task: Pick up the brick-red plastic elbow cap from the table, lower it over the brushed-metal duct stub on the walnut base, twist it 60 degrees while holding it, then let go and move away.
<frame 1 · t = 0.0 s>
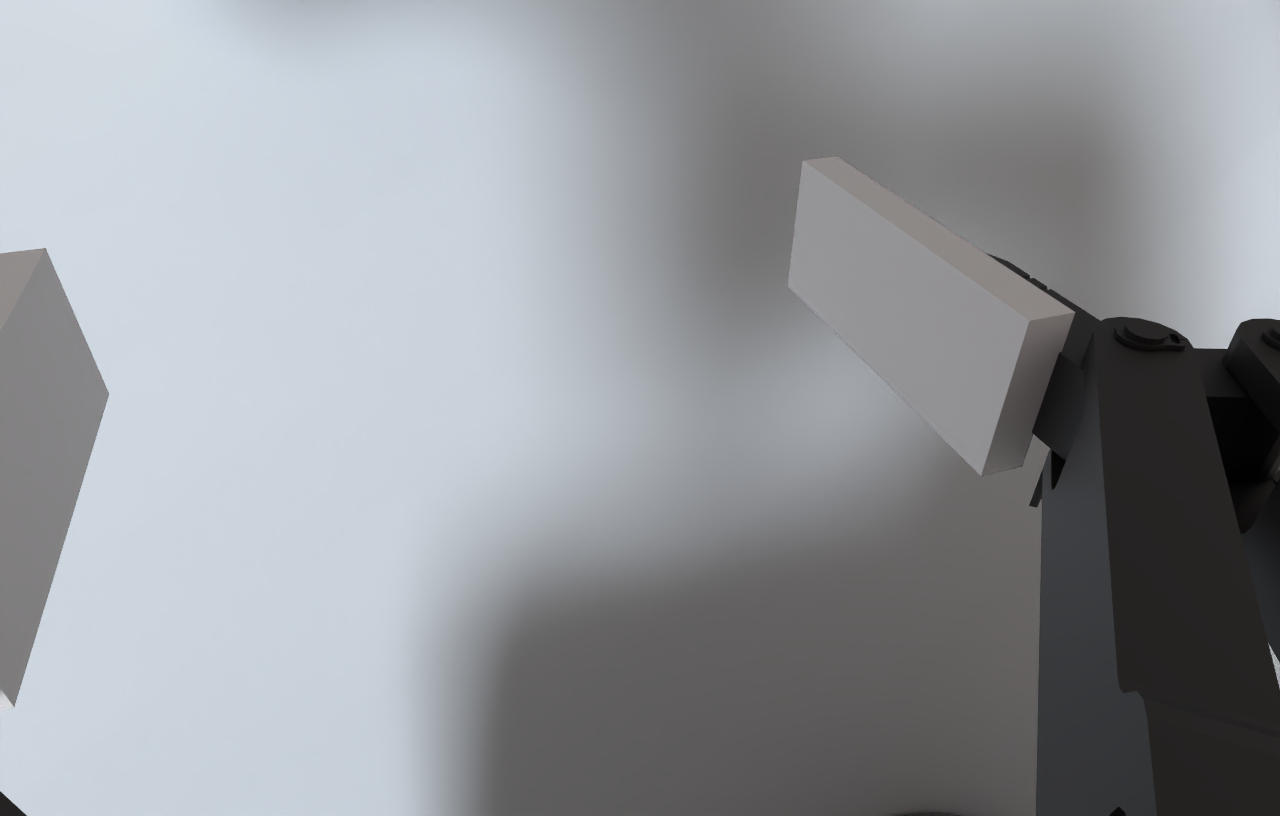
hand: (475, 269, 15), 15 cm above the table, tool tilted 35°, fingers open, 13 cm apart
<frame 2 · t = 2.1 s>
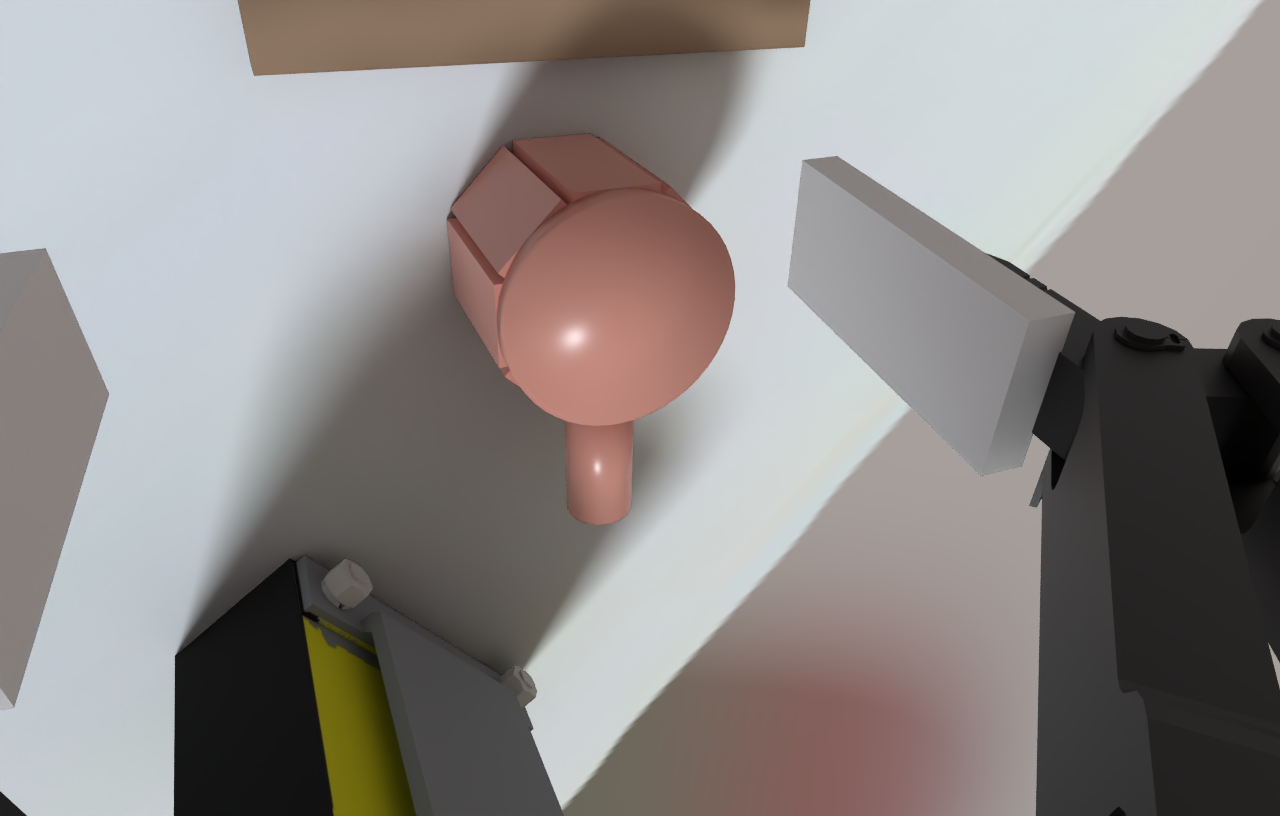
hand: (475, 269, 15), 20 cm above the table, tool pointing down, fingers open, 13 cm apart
electrical component: (372, 663, 47), on the table
elbow cap: (554, 243, 38), on the table
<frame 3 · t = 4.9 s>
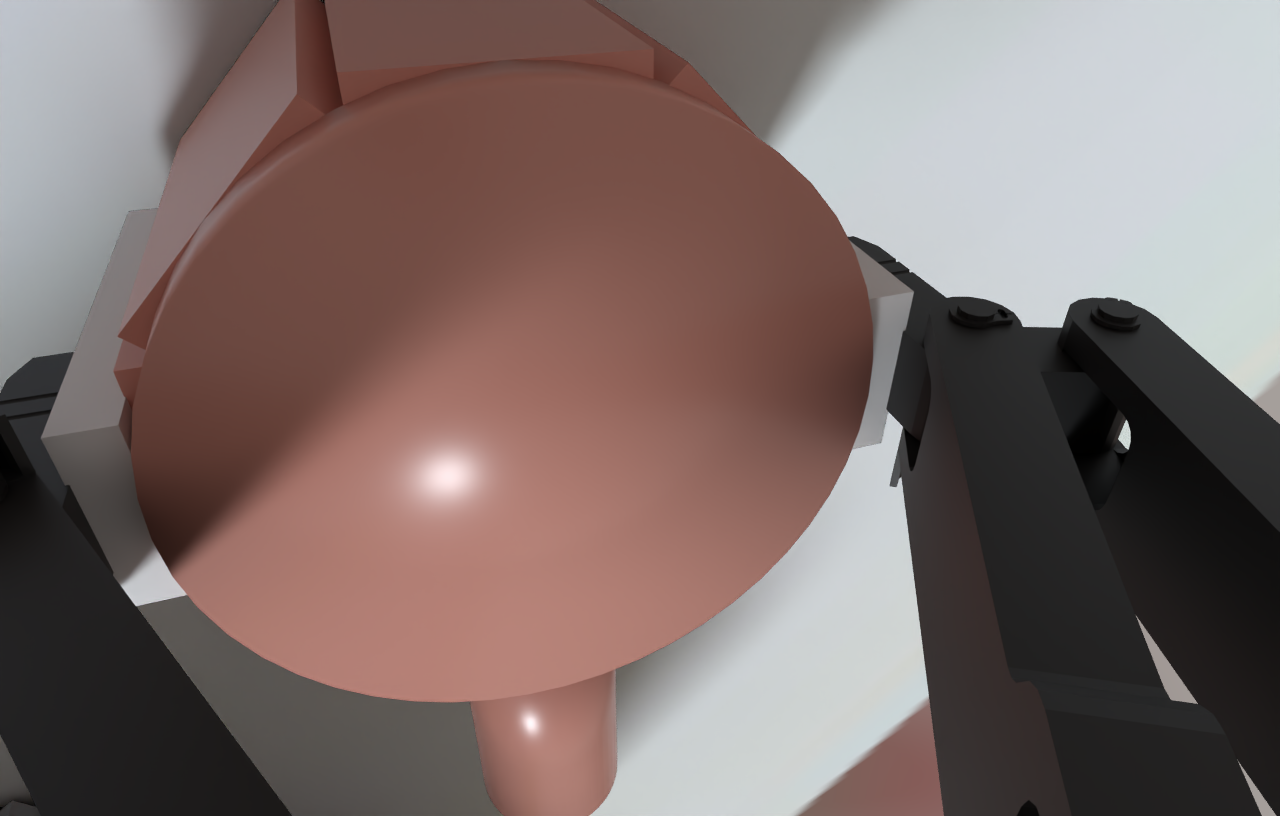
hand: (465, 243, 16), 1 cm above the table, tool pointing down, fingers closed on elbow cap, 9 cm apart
elbow cap: (456, 222, 17), on the table, touching gripper
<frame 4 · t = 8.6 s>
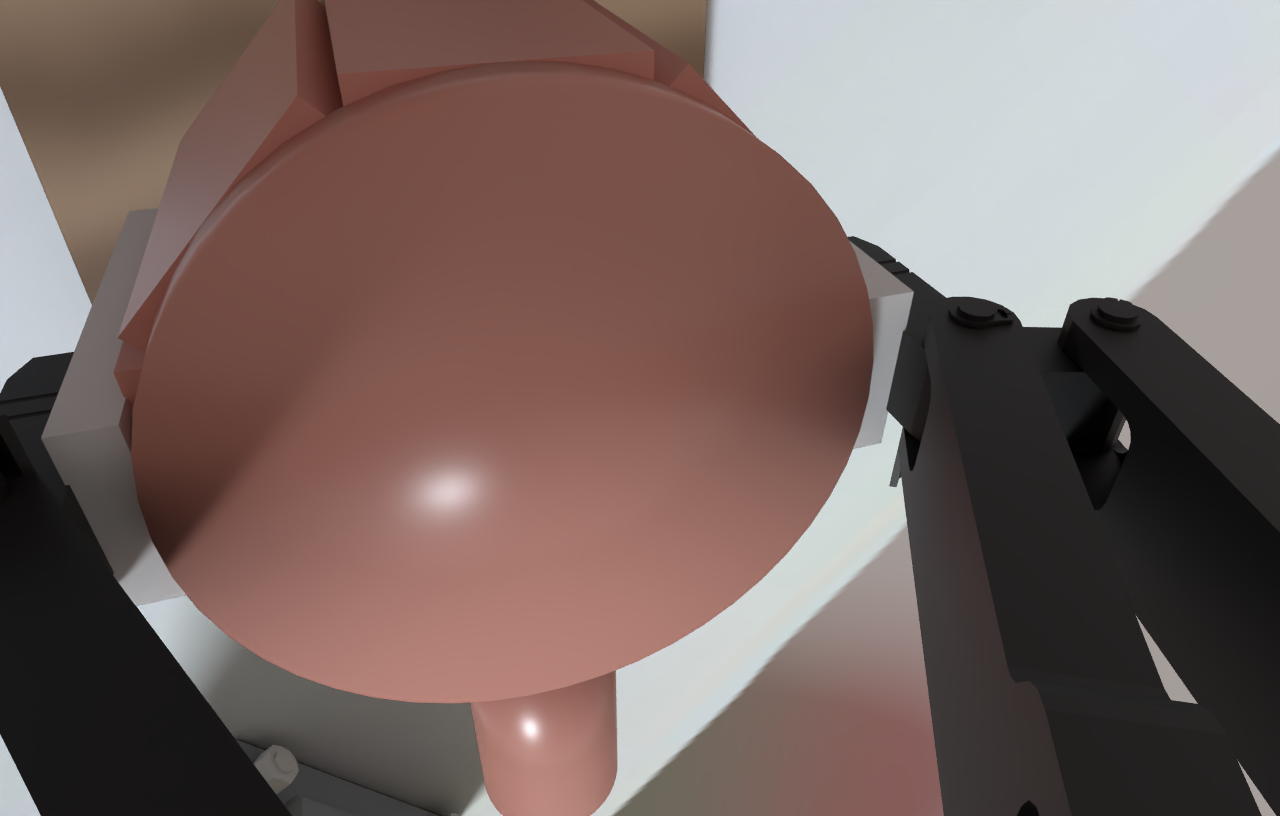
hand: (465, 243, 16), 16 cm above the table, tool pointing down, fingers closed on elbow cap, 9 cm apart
electrical component: (315, 812, 50), on the table
elbow cap: (456, 222, 17), point 15 cm above the table, touching gripper
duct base: (386, 53, 29), on the table
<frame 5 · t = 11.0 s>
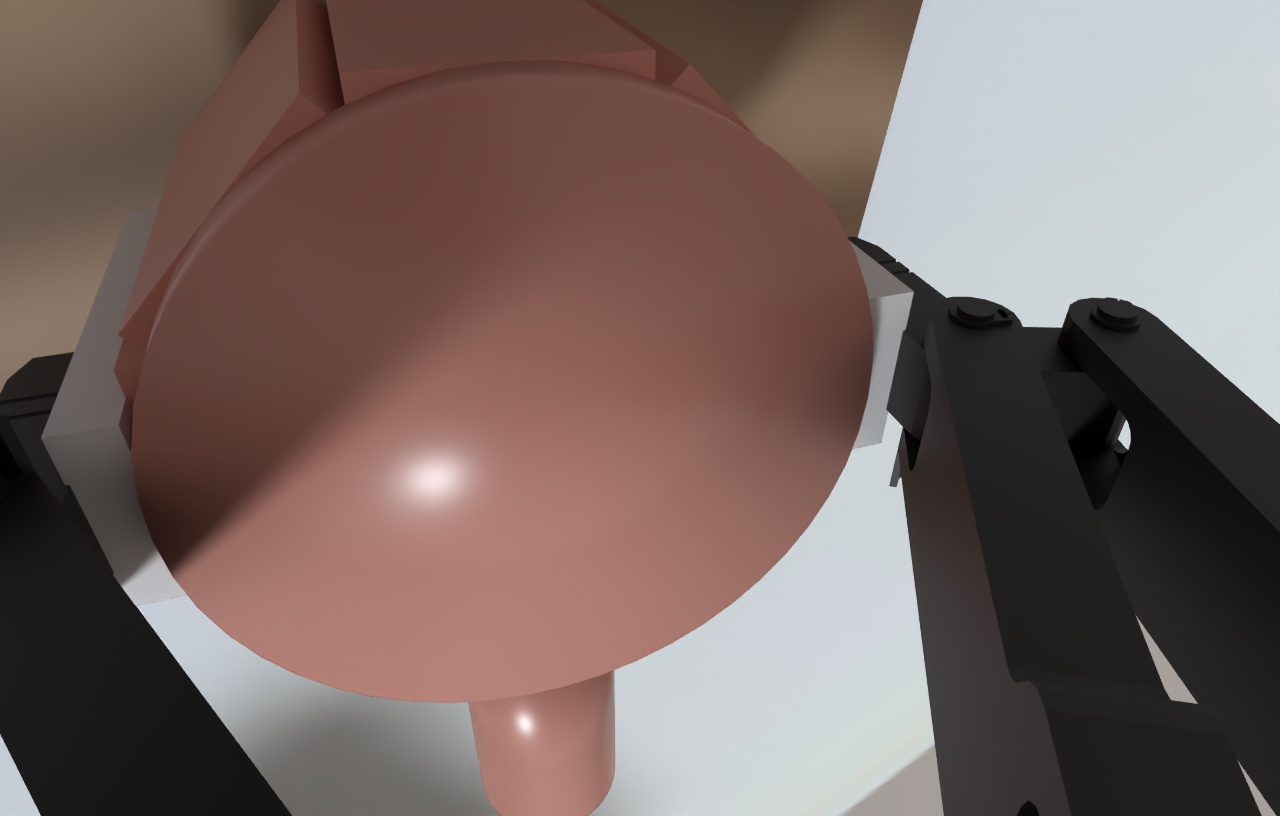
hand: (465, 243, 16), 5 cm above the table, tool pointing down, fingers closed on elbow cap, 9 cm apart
elbow cap: (456, 222, 17), point 3 cm above the table, touching gripper
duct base: (435, 164, 20), on the table
when the fingers open (5 cm above the table, at t = 12.6 s): elbow cap stays where it is, resting on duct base.
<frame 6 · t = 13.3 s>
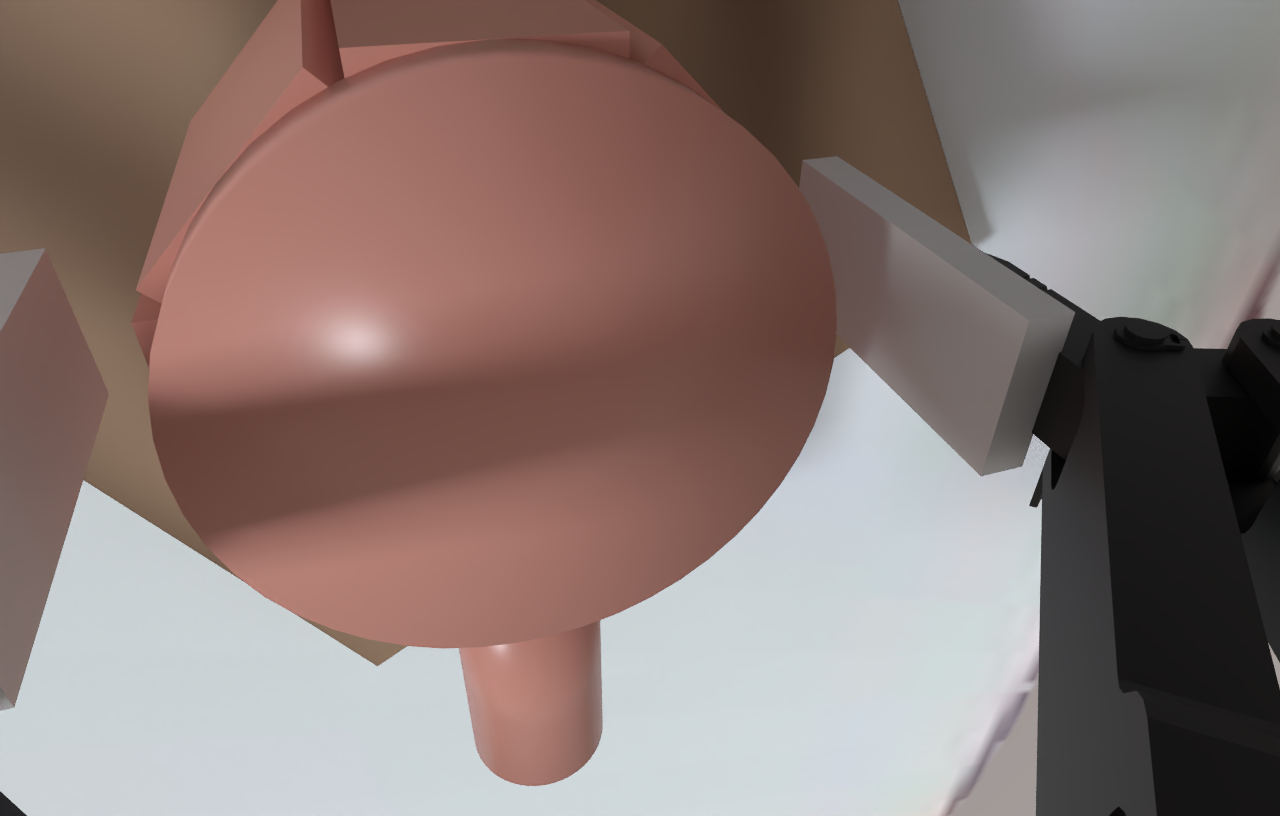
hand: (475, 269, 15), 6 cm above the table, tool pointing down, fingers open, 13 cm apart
elbow cap: (451, 203, 18), point 3 cm above the table, touching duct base
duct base: (436, 164, 20), on the table
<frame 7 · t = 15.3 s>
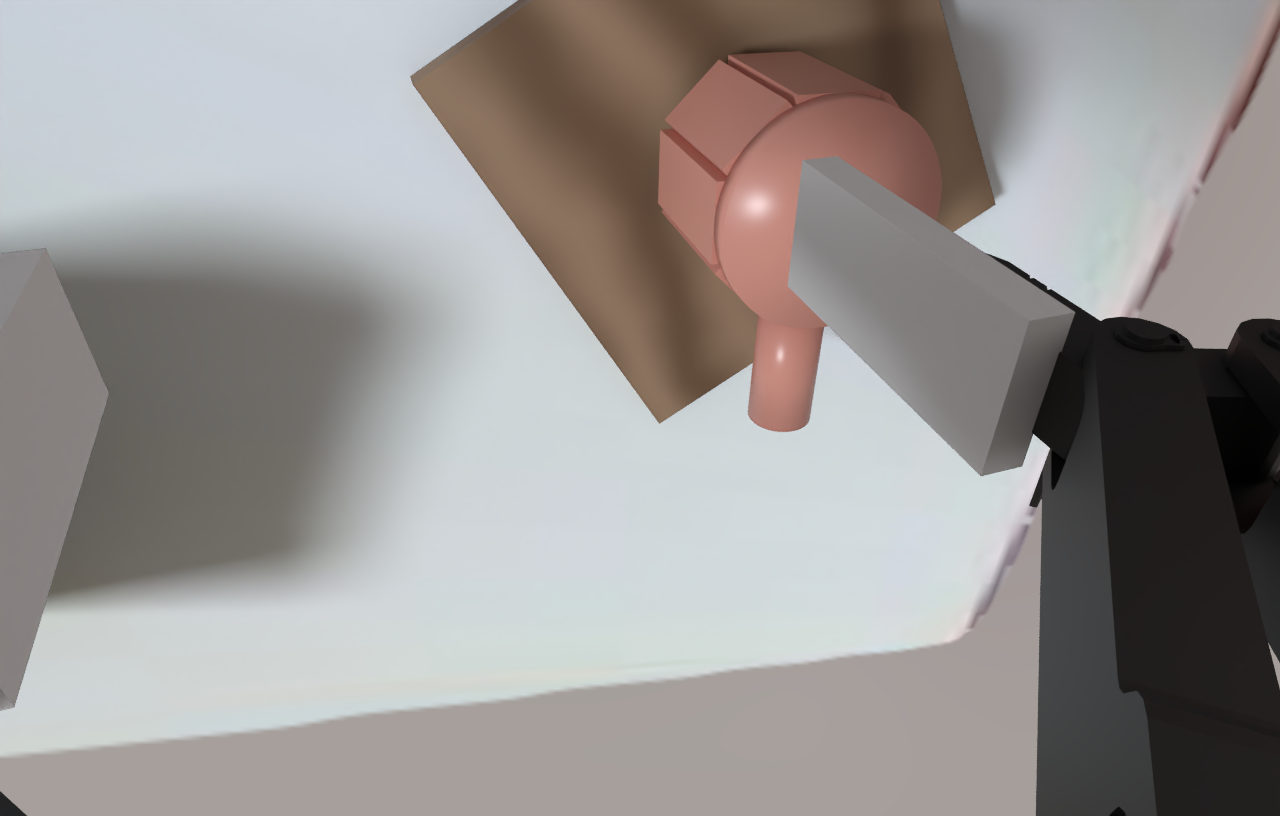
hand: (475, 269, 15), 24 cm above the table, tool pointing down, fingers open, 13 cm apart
elbow cap: (754, 159, 40), point 2 cm above the table, touching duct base
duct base: (734, 144, 42), on the table
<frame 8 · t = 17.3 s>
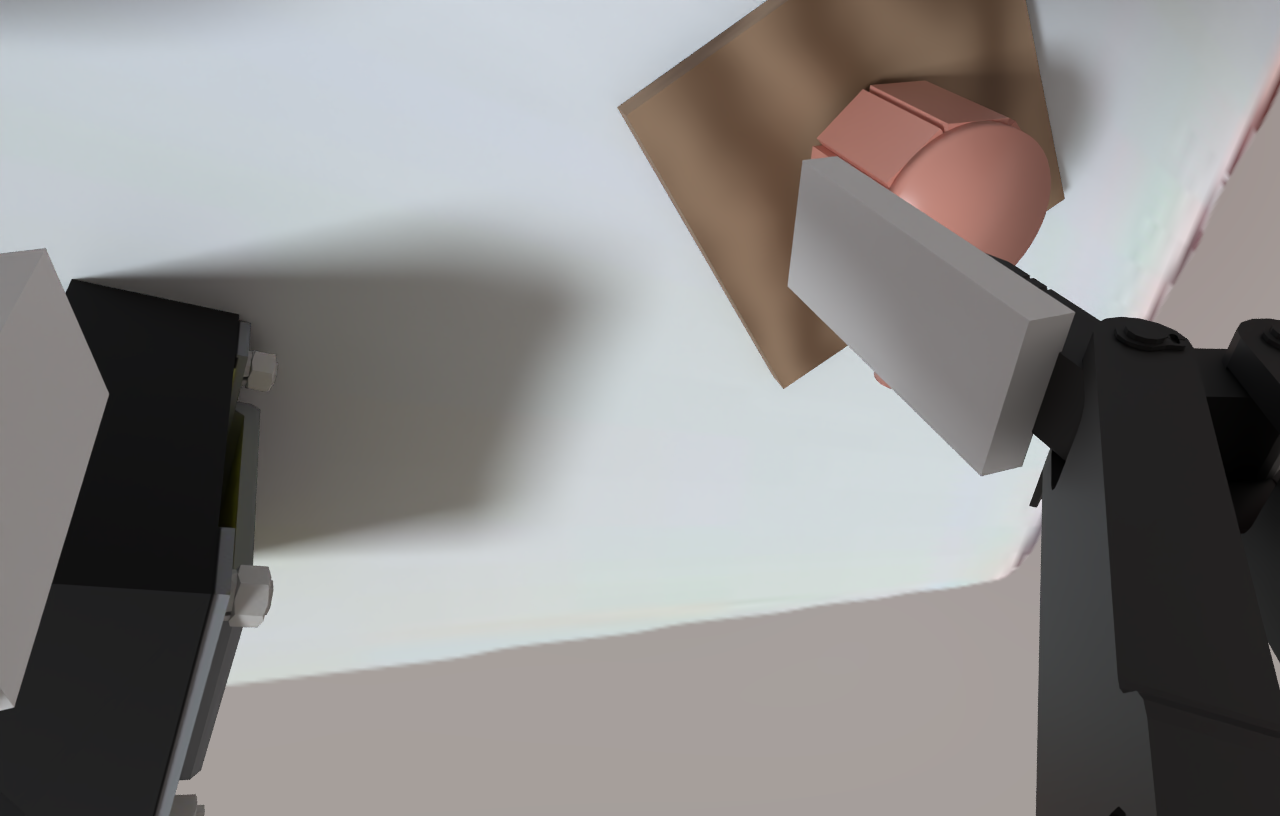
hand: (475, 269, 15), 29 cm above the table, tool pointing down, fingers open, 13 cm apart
electrical component: (148, 439, 46), on the table
elbow cap: (882, 168, 48), point 2 cm above the table, touching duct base
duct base: (859, 154, 50), on the table
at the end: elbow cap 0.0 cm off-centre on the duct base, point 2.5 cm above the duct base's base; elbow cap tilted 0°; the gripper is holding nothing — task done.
